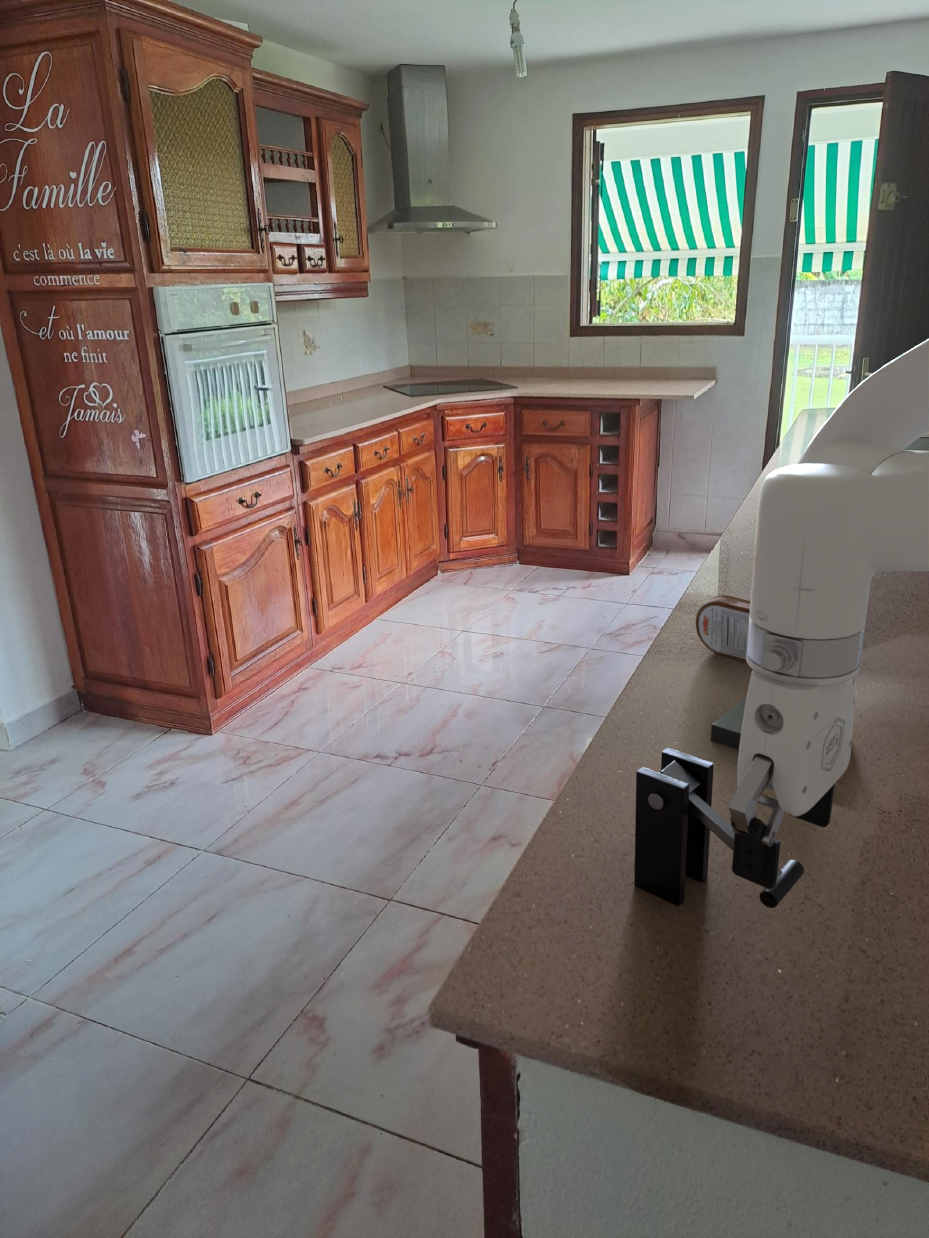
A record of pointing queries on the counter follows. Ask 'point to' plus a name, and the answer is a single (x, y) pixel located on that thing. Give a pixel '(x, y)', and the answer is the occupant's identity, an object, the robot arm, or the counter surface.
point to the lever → (726, 834)
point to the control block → (729, 726)
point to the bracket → (671, 828)
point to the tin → (724, 626)
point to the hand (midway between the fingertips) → (782, 848)
